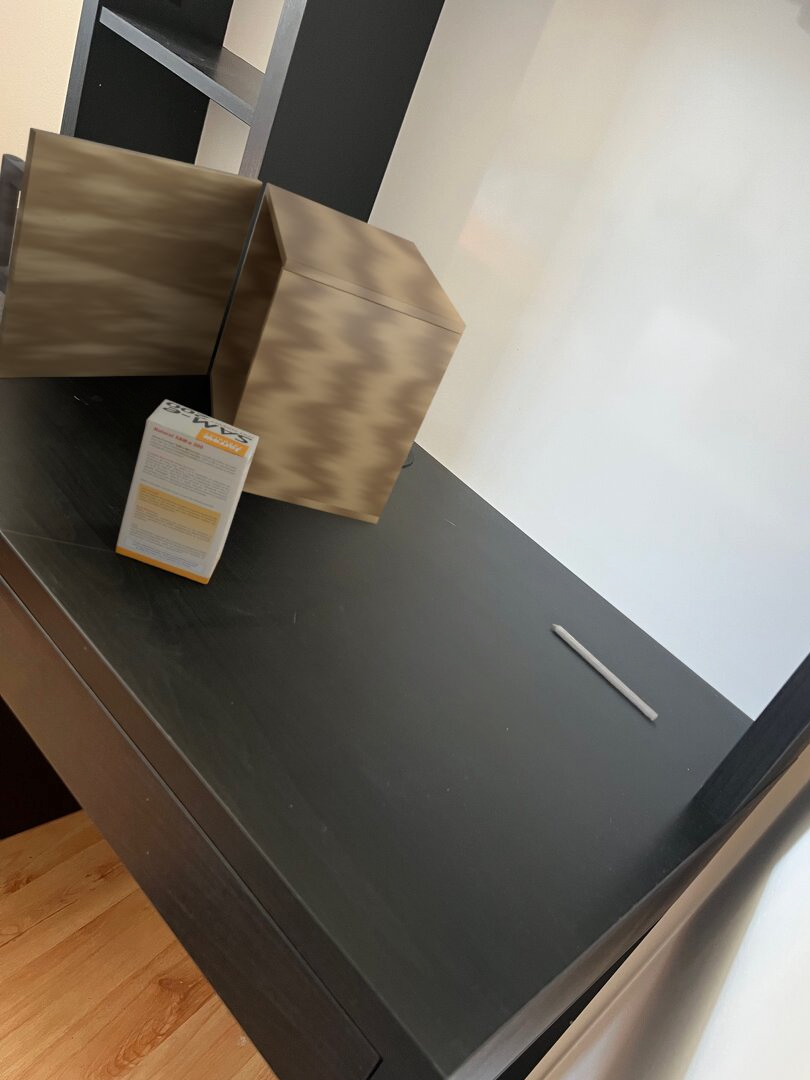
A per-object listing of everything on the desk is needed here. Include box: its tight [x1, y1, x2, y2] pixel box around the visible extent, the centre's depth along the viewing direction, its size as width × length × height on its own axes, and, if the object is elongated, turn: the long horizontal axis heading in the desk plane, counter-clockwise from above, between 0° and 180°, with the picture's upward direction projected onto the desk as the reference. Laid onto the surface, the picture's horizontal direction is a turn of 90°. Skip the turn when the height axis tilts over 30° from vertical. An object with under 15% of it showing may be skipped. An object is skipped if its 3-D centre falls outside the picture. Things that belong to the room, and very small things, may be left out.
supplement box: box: [115, 399, 259, 585], centre depth 71 cm, size 8×5×13 cm, turn 88°
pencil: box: [551, 623, 659, 722], centre depth 89 cm, size 1×1×15 cm
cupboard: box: [209, 182, 467, 525], centre depth 94 cm, size 18×26×24 cm
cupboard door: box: [0, 127, 263, 379], centre depth 90 cm, size 8×26×24 cm, turn 141°
